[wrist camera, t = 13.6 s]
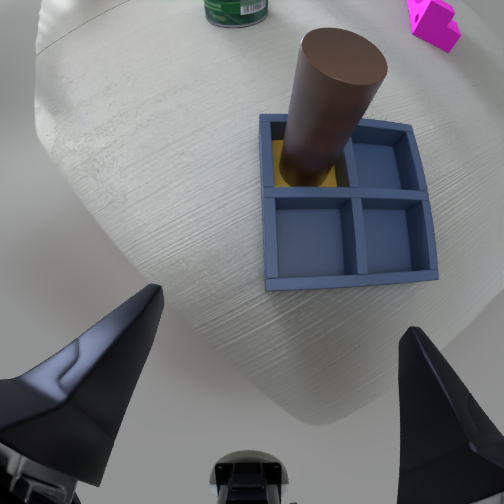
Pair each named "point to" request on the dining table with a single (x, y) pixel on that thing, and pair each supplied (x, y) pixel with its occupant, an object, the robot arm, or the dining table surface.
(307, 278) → the grid
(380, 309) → the dining table surface
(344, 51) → the brown wooden dowel
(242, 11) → the canned tomato
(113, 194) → the dining table surface
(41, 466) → the robot arm
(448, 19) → the toy block
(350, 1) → the dining table surface
